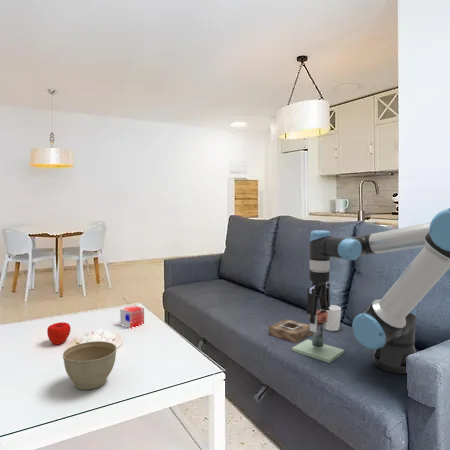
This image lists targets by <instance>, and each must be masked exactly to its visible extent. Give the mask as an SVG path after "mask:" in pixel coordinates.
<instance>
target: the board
mask: <svg viewBox="0 0 450 450" xmlns="http://www.w3.org/2000/svg"><path fill="white" fill-rule="evenodd" d="M291 351H292V352H295V353H298V354H300V355H303V356H306V357H310V358H313V359H316V360H319V361H323V362H324V363H328V364H330V363H332V362H334V361H335V360H336V359H338V358H339V357H341V356H342V355H343V354H344V353H345V349H342V348H339V347H335V346H333V345H328V344H324V346H323V347H315V346H313V345H312V339H306V340H303V341H302V342H300V343H298V344H296V345H294V346H292V347H291Z"/></svg>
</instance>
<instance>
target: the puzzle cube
mask: <svg viewBox="0 0 450 450" xmlns="http://www.w3.org/2000/svg"><path fill="white" fill-rule="evenodd" d="M119 313H120V315H119V317H120V318H119V319H120V321H119V323H120V325H121V324H122V325H124V326H127V327H129V328H131V329H133V328H132V327H135V328H137V327H136V326H138V327H140V326H139V325H141V326H143V325H142V324H144V325H145V308H143V307H141V306H137V305H130V306H126V307H122V308H120V311H119ZM122 325H121V326H122ZM124 326H123V327H124ZM127 327H126V328H127ZM129 328H128V329H129Z"/></svg>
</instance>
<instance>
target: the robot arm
mask: <svg viewBox="0 0 450 450" xmlns="http://www.w3.org/2000/svg"><path fill="white" fill-rule="evenodd" d="M418 248H422V249H421V250H420V251H419V252H418V253H417V255H416V256H415V257H414V259H413V260H412V261H411V263H409V264H408V266H407V267H406V269H405V270H404V271H403V272H402V273H401V275H400V276H399V277H398V278H397V280H396V281H395V282H394V283H393V284H392V286H391V287H390V288H389V289H388V290H387V292H386V293H385V294H384V296H383V297H382V298H381V299H375V300H374V301H372V302H371V304H370V305H369V306H368V308H367V309H366V310H365V311H364V312H360V313H359V314H358V315H356V316H355V317H354V319H352V325H351V326H352V327H351V328H352V330H353V331H352V332H353V335H354V337H355V338H356V339H355V340H357V342H358V343H359V344H360V345H362V346H363V348H364V347H365V348H367V349H370V350H374V352H373V354H372V362H373V364H374V365H375V366H376V367H377V368H379V369H380V370H383V371H385V372H389V373H393V374H397V375H398V374H399V375H407V374H406V357H407V356H408V355H410V354H413V353H417V351H416V347H415V341H416V339H415V338H416V337H415V336H416V320H417V318H416V317H417V312H416V306H417V305H418V304H419V303H420V302H421V301H422V299H423V298H424V297H425V296H426V295H427V294H428V292H430V290H431V289H432V288H433V287H434V286H435V285H436V284H437V283H438V281H439V280H440V279H441V278H442V277H443V276H444V275H445V274H446V273H447V271H449V269H450V207H448V208H445V209H443V210H441V211H439V212H438V213H437V214H435V215H434V217H433V218H432V220H431V221H430V222H426V223H425V222H424V223H421V224H416V225H409V226H405V227H401V228H395V229H391V230H385V231H384V230H383V231H380V232H374V233H368V234H363V235H357V236H347V237H339V236H338V237H336V236H331V232H330V231H329V230H321V229H318V230H316V229H315V230H311V232H310V237H309V269H310V270H309V277H308V278H309V281H311V282H312V284H311V287H308V288H307V302H306V303H307V304H306V314H307V315H309V314H310V320H309V325H310V331H312V332H317V315H316V312H317V310H318V305H319V304H320V305H319V306H320V309H319V310H323V311H326V312H327V310H328V311H329V310H330V308H328V307H330V305H331V302H330V301H331V299H330V298H331V295H330V294H331V292H330V290H331V289H330V288H331V284H330V282H329V281H330V270H331V269H330V268H331V266H330V265H331V264H330V263H331V260H330V259H331V258H336V259H341V260H345V261H348V260H349V261H356V260H357V259H358V258H360V257H363V256H370V255H375V254H383V253H389V252H397V251H403V250H404V251H405V250H410V249H418ZM324 327H327V322H325V323H324Z"/></svg>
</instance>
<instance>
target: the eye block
mask: <svg viewBox="0 0 450 450" xmlns="http://www.w3.org/2000/svg"><path fill="white" fill-rule="evenodd" d="M268 335H269V336H272V337H277V338H279V339H283V340H286V341H289V342H292V343H294V344H295V343H296V344H297V343H299V342H300V341H302V340H304V339H306V338H308V337H310V336H312V331H310V324H308V323H307V324H305V323H303V322H299V321H294V320H291V319H287V318H285V319H283V320H280V321H279V322H277V323H273V324H272V325H269V326H268Z"/></svg>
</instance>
